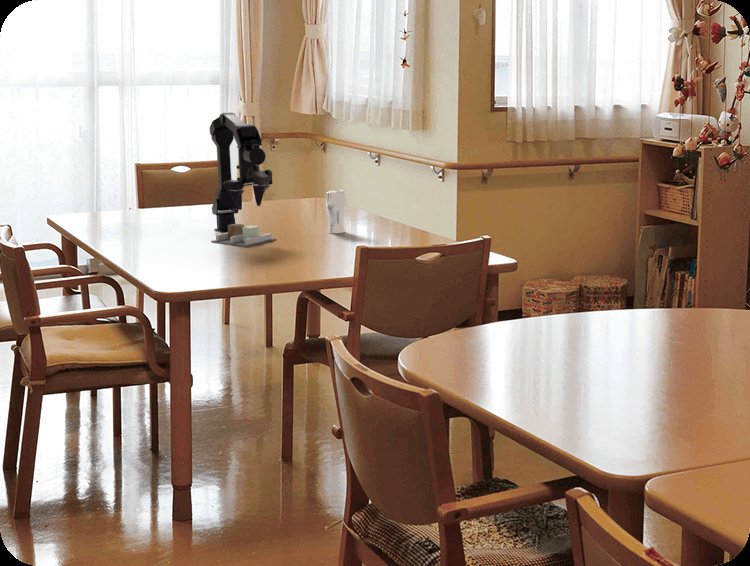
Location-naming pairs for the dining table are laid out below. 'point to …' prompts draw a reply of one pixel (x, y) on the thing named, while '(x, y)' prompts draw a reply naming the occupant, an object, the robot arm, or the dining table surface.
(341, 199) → the white tall carton
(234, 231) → the walnut block
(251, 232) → the sage block
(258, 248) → the dining table surface
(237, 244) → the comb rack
